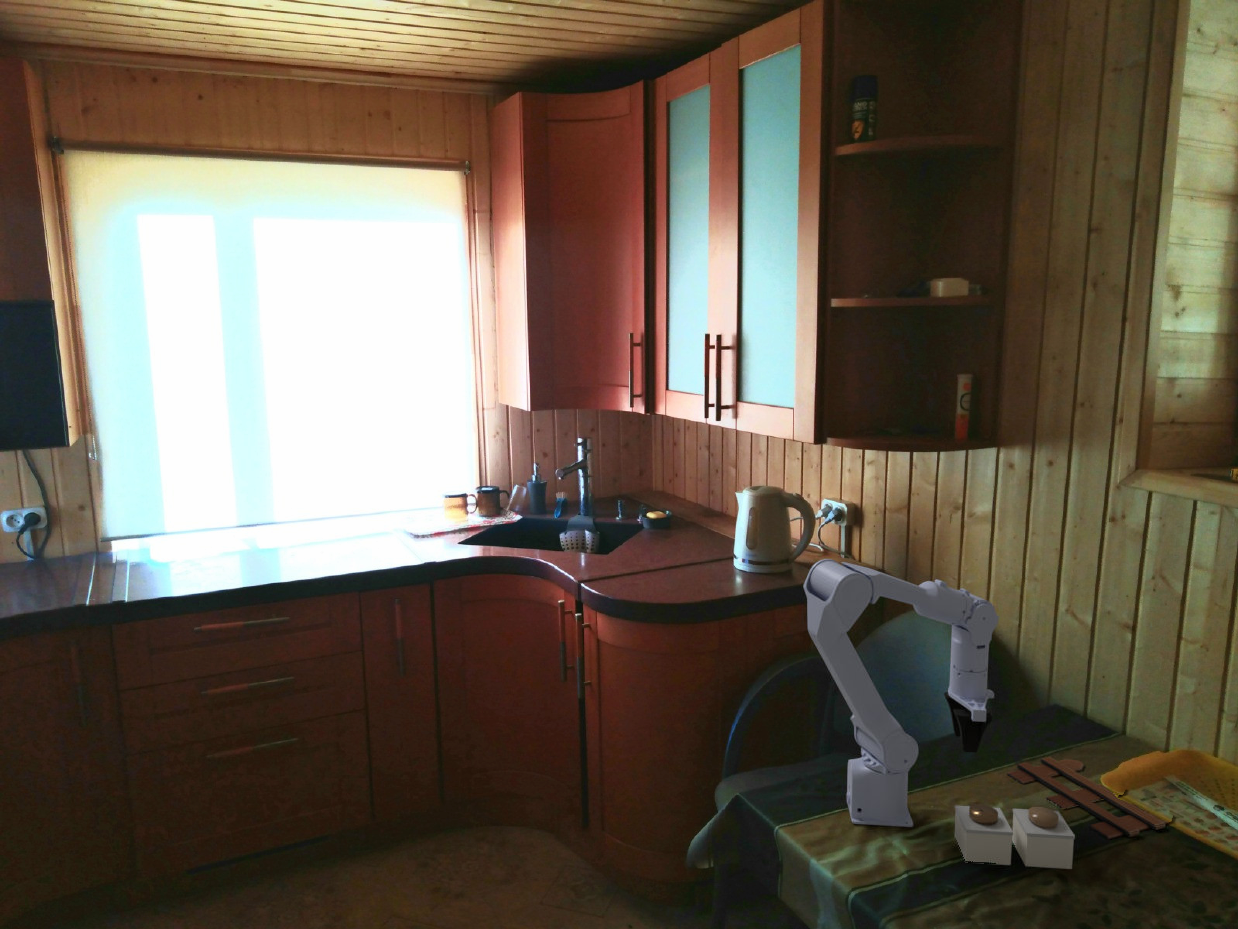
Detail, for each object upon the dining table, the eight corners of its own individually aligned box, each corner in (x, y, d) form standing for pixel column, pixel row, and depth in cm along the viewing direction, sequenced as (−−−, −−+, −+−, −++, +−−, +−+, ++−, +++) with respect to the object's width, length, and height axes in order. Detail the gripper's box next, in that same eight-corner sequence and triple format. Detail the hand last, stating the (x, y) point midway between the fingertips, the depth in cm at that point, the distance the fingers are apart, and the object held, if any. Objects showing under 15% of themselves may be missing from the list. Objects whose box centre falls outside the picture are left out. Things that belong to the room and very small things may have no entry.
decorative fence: (1113, 848, 130) (1185, 827, 135) (1114, 837, 130) (1186, 817, 135) (1002, 776, 152) (1067, 760, 157) (1002, 766, 152) (1068, 752, 156)
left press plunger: (971, 853, 127) (973, 817, 126) (964, 838, 131) (966, 803, 130) (999, 855, 127) (1001, 819, 126) (991, 839, 131) (993, 804, 130)
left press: (964, 862, 126) (966, 829, 125) (951, 833, 134) (953, 801, 133) (1011, 865, 125) (1013, 832, 125) (996, 835, 133) (997, 804, 132)
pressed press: (1025, 866, 125) (1027, 825, 124) (1008, 836, 133) (1010, 797, 132) (1072, 869, 124) (1075, 827, 123) (1053, 839, 132) (1056, 799, 131)
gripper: (1008, 684, 132) (1004, 766, 134) (982, 650, 147) (978, 725, 149) (960, 682, 133) (957, 764, 135) (939, 649, 148) (936, 723, 150)
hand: (965, 743), depth 142 cm, fingers open, 5 cm apart
